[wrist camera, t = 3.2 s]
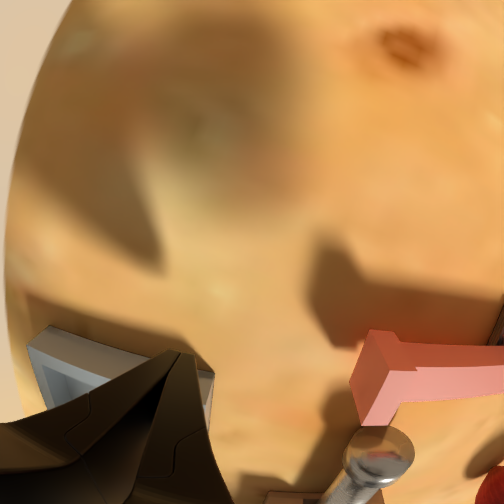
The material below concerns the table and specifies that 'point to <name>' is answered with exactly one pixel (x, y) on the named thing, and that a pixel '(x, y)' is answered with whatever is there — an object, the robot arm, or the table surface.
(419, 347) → the keeper bar
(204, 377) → the tray
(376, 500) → the channel block
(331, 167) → the table surface
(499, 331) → the keeper guide
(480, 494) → the onion
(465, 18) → the table surface
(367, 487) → the pin
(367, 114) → the table surface
